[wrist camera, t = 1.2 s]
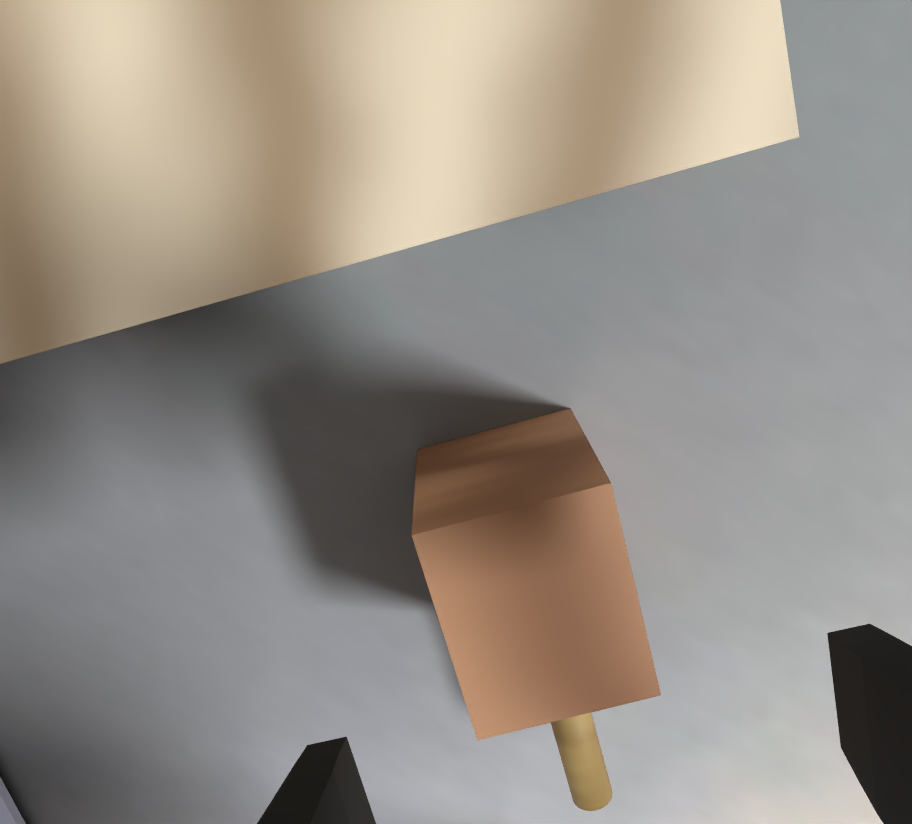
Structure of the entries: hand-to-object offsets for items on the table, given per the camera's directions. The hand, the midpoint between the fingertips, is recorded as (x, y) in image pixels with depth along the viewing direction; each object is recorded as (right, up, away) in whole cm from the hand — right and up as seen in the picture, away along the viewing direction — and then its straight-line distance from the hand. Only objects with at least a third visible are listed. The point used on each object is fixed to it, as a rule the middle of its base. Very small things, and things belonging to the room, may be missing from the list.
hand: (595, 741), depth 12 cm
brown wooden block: (0, 0, +10) cm, 10 cm away
